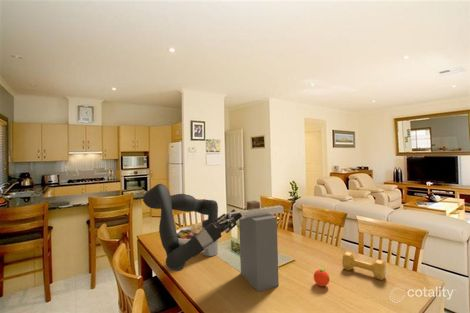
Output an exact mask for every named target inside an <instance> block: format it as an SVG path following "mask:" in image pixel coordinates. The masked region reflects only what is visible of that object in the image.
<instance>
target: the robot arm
mask: <svg viewBox="0 0 470 313" xmlns="http://www.w3.org/2000/svg"><path fill="white" fill-rule="evenodd" d="M142 201H143V203H144V205H145V206H147V207H148V208H150V209H153V210H154V209H155V210H160V219H159V226H158V227H159V228H158V232H159V238H160V241H161V244H162V245H161V246H162V247H163V249H164V250H165V253H166V258H165V265H166V267H167V268H168V270H171V271H172V272H175V273H176V272H180V271H182V270H183V269H184V268H185V266H186V262H188V261H189V260H191V259H192V258H195V257H197V256H199V254H201V253H202V254H203V255H204V256H205V257H215V256H216V255H218V254H219V248H218V244H219V243H218V240H219V239H220V238H221V237H222V233H223V232H225V233H226V234H229V233H230V231H232V230H233V229H234V228H235V227H236V226H237V221H239V219H240V218H241V217H242V215H241V213H238V214H237V215H235V216H234V217H233V218H231V219H229V215H228V213H223V214H221V215H220V216H218V215H219V207H218V202H217V201H216V200H213V199H199V198H198V199H197V198H195V197H194V195H190V194H186V193H176V194H171V193H170V190H169V188H168V186H166V185H165V184H162V183H157V184H156V185H154V186H153V187H151V188H150V189H149V190H147V191H146V192H145V193H144V194H143V196H142ZM173 210H174V211H178V212H184V213H189V212H191V213H192V212H195V213H198V214H201V215H204V216H207V218H206V219H204V220H202V222H201V226H202V230H201V231H200V232H199V233H198V234H197V235H196V236H194V237H193V238H192V239H190V240H189V241H188V242H187V243H185V244H184V245H183V244H179V239H178V236H177V232H176V230H177V229H176V226H175V222H174V215H173V214H174V213H173ZM236 211H237V210H235V209H232V210H231V211H230V212H236Z"/></svg>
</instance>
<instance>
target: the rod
mask: <svg viewBox="0 0 470 313" xmlns="http://www.w3.org/2000/svg"><path fill="white" fill-rule="evenodd" d="M235 211H236V212H231V211H228V213H227V214H228V215H229V219H231V218H233V217H234V216H235V215H237V214H238V213H241V215H242V217H241V218H240V219H245V218H252V217H258V216H265V215H277V214H283V213H284V206H282V205H280V204H279V205H273V206H266V207H260V208H257V209H250V210H247V209H243V210H238V211H237V210H235Z"/></svg>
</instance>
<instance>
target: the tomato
mask: <svg viewBox="0 0 470 313" xmlns="http://www.w3.org/2000/svg"><path fill="white" fill-rule="evenodd" d="M313 280H314V282H315V284H316V285H318V286H320V287H325V286H327V285H328V284H329V282H330V276H329V273H328V272H327V271H326V270H325V269H324V268H320V269H317V270H315V272H314V274H313Z"/></svg>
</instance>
